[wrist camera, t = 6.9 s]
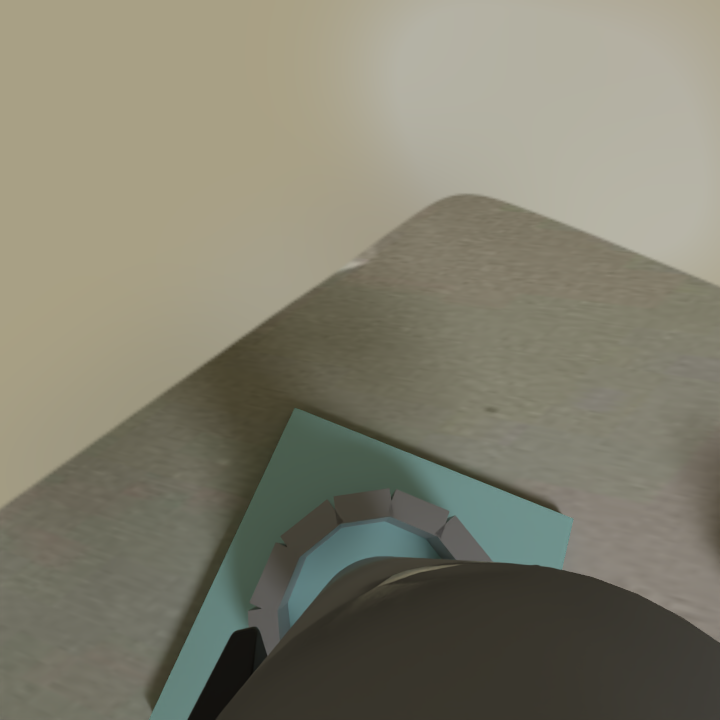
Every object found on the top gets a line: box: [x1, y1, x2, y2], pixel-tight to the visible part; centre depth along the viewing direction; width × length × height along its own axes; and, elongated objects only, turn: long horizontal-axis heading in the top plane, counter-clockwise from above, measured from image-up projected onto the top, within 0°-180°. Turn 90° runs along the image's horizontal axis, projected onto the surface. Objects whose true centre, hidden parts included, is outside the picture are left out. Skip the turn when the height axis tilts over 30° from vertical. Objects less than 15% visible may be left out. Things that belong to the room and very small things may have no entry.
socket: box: [149, 408, 573, 720], centre depth 18 cm, size 13×13×4 cm
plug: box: [216, 556, 720, 720], centre depth 8 cm, size 4×4×12 cm
